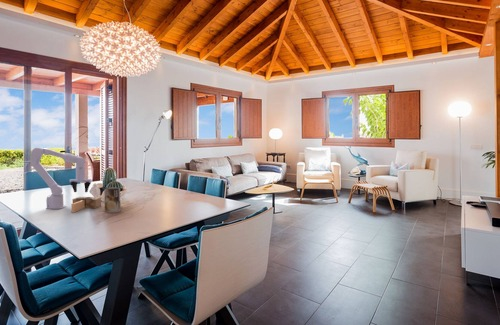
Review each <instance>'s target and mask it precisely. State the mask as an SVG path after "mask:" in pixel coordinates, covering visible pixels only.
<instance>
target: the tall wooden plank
mask: <svg viewBox="0 0 500 325" xmlns="http://www.w3.org/2000/svg"><path fill="white" fill-rule="evenodd" d="M85 208H86V206H85V203H84V200H81V201H78V202H75V203H73V202H72V203H71V213H76V212H79V211H81V210H83V209H85Z"/></svg>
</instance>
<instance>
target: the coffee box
mask: <svg viewBox="0 0 500 325" xmlns="http://www.w3.org/2000/svg"><path fill="white" fill-rule="evenodd" d="M120 193H121V187H120V186H119V187H105V188H104V194H103V195H104V213H105V214H107V213H120V212H121V210H122V209H121V207H122V205H121V203H122V202H120V200H121V194H120Z"/></svg>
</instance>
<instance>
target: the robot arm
mask: <svg viewBox="0 0 500 325" xmlns="http://www.w3.org/2000/svg"><path fill="white" fill-rule="evenodd" d="M43 155H44V156H52V157H57V158H60V159H62V160H63V161H65V162H68V163H72V164H75V178H74V179H73V178H72V179H69V183H70V186H71V188H72V189H73V192H74V193H77V192H78V189H77V188H78V183H83V185H84V192H85V193H88V191H89V187H90V185H91V183H92V181H93V180H92V179H87V178H86V167H85V166H86V165H85V163H86V159H85V158H84V157H82V156H79V155H77V154H76V155H75V154H72V153H71V152H69V153H68V152H66V153H63V152H59V151H56V150H53V149H50V148H45V147H40V146H36V147H33V148H32V150H31V153H30V159H29V160H30V161H29V162H30V163H29V164H30V165H31V167H33V169H34V170H35V171H36V173H37V174H38V175H39V176H40V177H41V179H42V180H43V181H44V182H45V184H46V185H47V186H48V188H49V189H50V192H51V194H50V195H48V196H47V197H46V199H45V201H46V208H45V209H49V210H50V209H51V210H60V209H63V208H66V207H67V205H64V193H63V187H62V186H61V185H60V184H58V183H57V182H56V181H55V180H54V179H53V177H52V176H51V175H50V174H49V172H48V171H47V170H46V169H45V167H44V166H43V165H42V163H41V162H40V161H41V159H42V157H43Z"/></svg>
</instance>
